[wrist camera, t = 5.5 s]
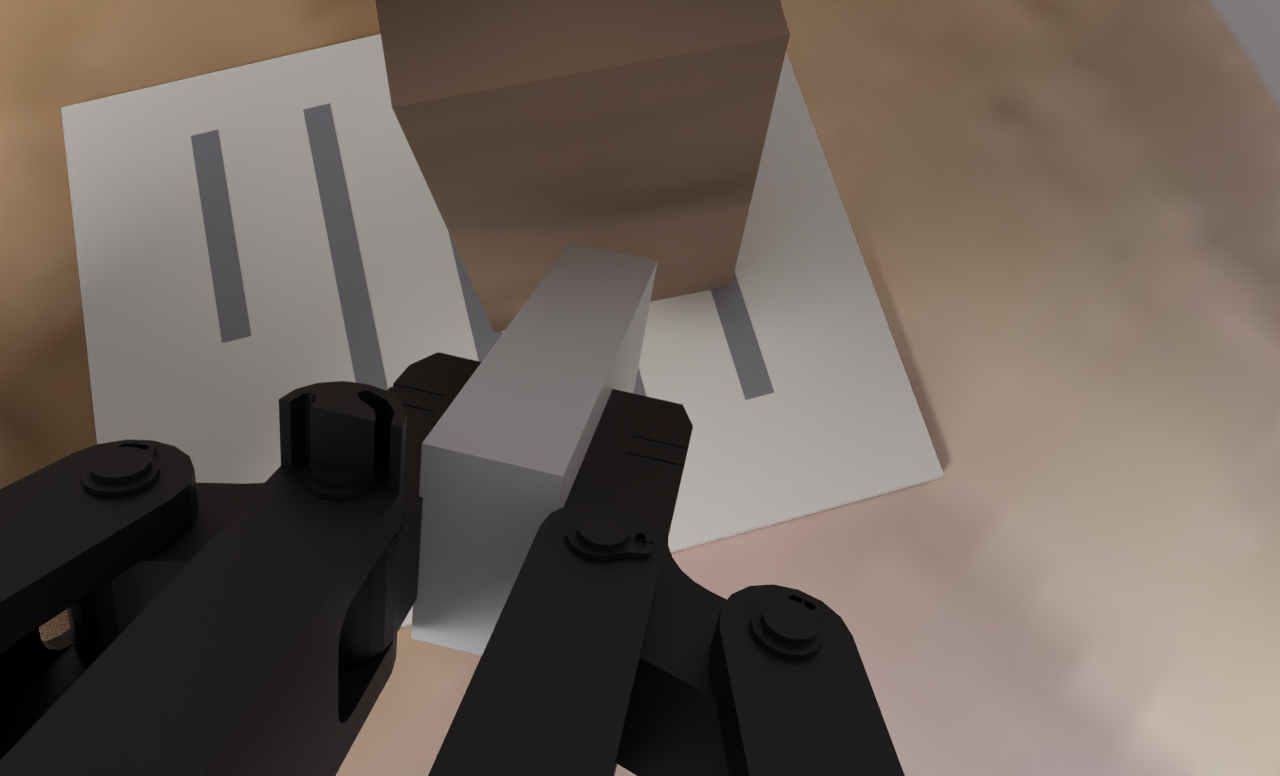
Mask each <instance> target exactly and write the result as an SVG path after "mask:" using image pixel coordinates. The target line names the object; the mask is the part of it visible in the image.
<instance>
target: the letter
mask: <svg viewBox="0 0 1280 776" xmlns="http://www.w3.org/2000/svg"><path fill="white" fill-rule="evenodd" d="M61 111H62V120H63V129H64V139H65V148H66V157H67V167H68V176H69V186H70V195H71V204H72V214H73V223H74V232H75V242H76V251H77V260H78V270H79V279H80V289H81V298H82V307H83V317H84V326H85V335H86V345H87V354H88V363H89V373H90V382H91V392H92V401H93V410H94V420H95V429H96V438H97V444H102V443H108V442H115V441H120V440H153V441H157V442H161V443H165V444H168V445H172V446H175V447H177V448H178V449H180V450H181V451H183V452H184V453H185V454H187V455H188V456H190V459H191V461H192V464H193V467H194V469H195V479H196V483H237V484H249V483H265V482H266V481H267V480H268V479H269V478H270V477H271V476H272V474H273V473H274V472H275V471H276V470H277V469H278V468H279V467H280V466H281V453H280V423H279V399H280V398H281V397H283V396H285V395H286V394H288V393H290V392H291V391H293V390H295V389H297V388H301V387H304V386H308V385H312V384H315V383H322V382H337V381H347V382H355V383H363V384H369V385H372V386H375V387H377V388H380V389H383V390H386V391H387V390H388V389H389V388H390V387H393V383H394V382H395V381H396V380H397V378H398V377H399V376H400V375H401V374H402V373H403V372H404V371H405V369H406V368H407V367H408V366H409V365H410V364H413V363H415V362H417V361H419V360H422V359H424V358H426V357H428V356H430V355H433V354H435V353H437V352H439V353H444V354H448V355H453V356H457V357H462V358H466V359H471V360H475V361H479V362H482V361H483V360H484V358H485V357H486V355H487V354H488V353H489V351H490V350H491V349H492V347H493V346H494V344H495V343H496V342H497V340H498V339H499V338H500V336H501V335H502V334H503V332H504V331H500V332H494V330H493V328H492V326H491V324H490V321H489V319H488V317H487V315H486V313H485V310H484V308H483V306H482V304H481V302H480V300H479V297H478V295H477V293H476V291H475V289H474V286H473V284H472V282H471V280H470V278H469V275H468V273H467V271H466V269H465V267H464V264H463V262H462V260H461V258H460V256H459V253H458V251H457V249H456V247H455V245H454V242H453V240H452V238H451V236H450V234H449V231H448V229H447V227H446V225H445V223H444V220H443V218H442V216H441V214H440V212H439V209H438V207H437V205H436V203H435V201H434V198H433V196H432V194H431V192H430V190H429V187H428V185H427V183H426V181H425V179H424V176H423V174H422V172H421V170H420V168H419V166H418V163H417V161H416V159H415V157H414V155H413V152H412V150H411V148H410V146H409V144H408V141H407V139H406V137H405V135H404V133H403V130H402V128H401V126H400V124H399V122H398V119H397V117H396V115H395V113H394V111H393V108H392V104H391V98H390V91H389V85H388V78H387V72H386V65H385V58H384V52H383V45H382V39H381V34H378V35H374V36H369V37H365V38H361V39H356V40H352V41H348V42H343V43H339V44H335V45H330V46H326V47H322V48H317V49H313V50H308V51H304V52H300V53H295V54H291V55H287V56H282V57H278V58H274V59H269V60H265V61H261V62H256V63H252V64H248V65H243V66H239V67H235V68H230V69H226V70H222V71H217V72H213V73H209V74H204V75H200V76H196V77H191V78H187V79H183V80H178V81H174V82H170V83H165V84H161V85H157V86H152V87H148V88H144V89H139V90H135V91H131V92H126V93H122V94H118V95H113V96H109V97H104V98H100V99H96V100H91V101H87V102H83V103H78V104H74V105H70V106H65V107H61ZM634 394H638V395H643V396H647V397H651V398H656V399H660V400H665V401H669V402H674V403H678V404H683V406H684V408H685V410H686V413H687V415H688V417H689V419H690V421H691V423H692V425H693V429H692V434H691V438H690V443H689V447H688V452H687V456H686V461H685V465H684V470H683V474H682V479H681V483H680V488H679V492H678V496H677V501H676V505H675V510H674V514H673V519H672V523H671V528H670V532H669V536H668V546H669V549H670V552H671V553H672V552H676V551H679V550H683V549H687V548H690V547H694V546H697V545H701V544H705V543H708V542H712V541H715V540H719V539H723V538H726V537H730V536H734V535H737V534H741V533H744V532H748V531H752V530H755V529H759V528H762V527H766V526H770V525H773V524H777V523H781V522H784V521H788V520H791V519H795V518H799V517H802V516H806V515H809V514H813V513H817V512H820V511H824V510H828V509H831V508H835V507H838V506H842V505H846V504H849V503H853V502H856V501H860V500H864V499H867V498H871V497H875V496H878V495H882V494H885V493H889V492H893V491H896V490H900V489H903V488H907V487H911V486H914V485H918V484H922V483H925V482H929V481H932V480H936V479H940V478H941V477H943V476H944V474H943V471H942V468H941V466H940V463H939V460H938V458H937V455H936V452H935V449H934V447H933V444H932V441H931V439H930V436H929V433H928V431H927V428H926V425H925V423H924V420H923V417H922V415H921V412H920V409H919V406H918V404H917V401H916V398H915V396H914V393H913V390H912V388H911V385H910V382H909V380H908V377H907V374H906V372H905V369H904V366H903V363H902V361H901V358H900V355H899V353H898V350H897V347H896V345H895V342H894V339H893V337H892V334H891V331H890V329H889V326H888V323H887V320H886V318H885V315H884V312H883V310H882V307H881V304H880V302H879V299H878V296H877V294H876V291H875V288H874V286H873V283H872V280H871V278H870V275H869V272H868V269H867V267H866V264H865V261H864V259H863V256H862V253H861V251H860V248H859V245H858V243H857V240H856V237H855V235H854V232H853V229H852V226H851V224H850V221H849V218H848V216H847V213H846V210H845V208H844V205H843V202H842V200H841V197H840V194H839V192H838V189H837V186H836V183H835V181H834V178H833V175H832V173H831V170H830V167H829V165H828V162H827V159H826V157H825V154H824V151H823V149H822V146H821V143H820V140H819V138H818V135H817V132H816V130H815V127H814V124H813V122H812V119H811V116H810V114H809V111H808V108H807V106H806V103H805V100H804V97H803V95H802V92H801V89H800V87H799V84H798V81H797V79H796V76H795V73H794V71H793V68H792V65H791V63H790V60H789V57H788V55H787V52H786V53H785V57H784V61H783V66H782V70H781V74H780V79H779V83H778V87H777V91H776V96H775V100H774V104H773V109H772V113H771V117H770V121H769V126H768V130H767V134H766V139H765V143H764V147H763V152H762V156H761V160H760V164H759V169H758V173H757V177H756V182H755V186H754V190H753V194H752V199H751V203H750V207H749V212H748V216H747V220H746V225H745V229H744V233H743V237H742V242H741V246H740V250H739V255H738V259H737V263H736V267H735V272H734V276H733V280H732V285H731V286H727V287H722V288H717V289H712V290H707V291H702V292H697V293H692V294H687V295H682V296H677V297H672V298H667V299H662V300H657V301H651V302H650V306H649V311H648V317H647V322H646V328H645V333H644V339H643V344H642V350H641V355H640V361H639V366H638V372H637V377H636V383H635V388H634ZM412 614H413V606H412V608H411V610H410V611H409V613H408V615H407V617H406V618H405V620H404V622H403V623H402V625H401V627H405V626H408V625H412ZM401 627H400V628H401Z"/></svg>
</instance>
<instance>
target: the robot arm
mask: <svg viewBox="0 0 1280 776" xmlns="http://www.w3.org/2000/svg"><path fill="white" fill-rule="evenodd" d="M657 262H658V261H655V260H651V259H646V258H641V257H637V256H632V255H627V254H623V253H618V252H613V251H609V250H604V249H599V248H595V247H590V246H585V245H581V244H576V243H571V242H569V244H568V245H567V246H566V248H565V249H564V250H563V252H562V253H561V254H560V256H559V257H558V259H557V260H556V261H555V263H554V264H553V265H552V267H551V268H550V269H549V271H548V272H547V274H546V275H545V276H544V278H543V279H542V280H541V282H540V283H539V284H538V286H537V287H536V289H535V290H534V291H533V293H532V294H531V295H530V297H529V298H528V299H527V301H526V302H525V304H524V305H523V306H522V308H521V309H520V310H519V312H518V313H517V314H516V316H515V317H514V319H513V320H512V321H511V323H510V324H509V325H508V327H507V328H506V329H505V331H504V332H503V334H502V335H501V336H500V338H499V339H498V340H497V342H496V343H495V344H494V346H493V347H492V349H491V350H490V351H489V353H488V354H487V355H486V357H485V358H484V360H483V361H482V362H479V361H475V360H471V359H466V358H462V357H457V356H453V355H448V354H444V353H439V352H437V353H435V354H433V355H430V356H428V357H426V358H424V359H422V360H419V361H417V362H415V363H413V364H410V365H409V366H408V367H407V368H406V369H405V371H404V372H403V373H402V374H401V375H400V376H399V377H398V378H397V380H396V381H395V382H394V383H393V387H390V388H389V389H388V390H387V391H386V390H383V389H380V388H377V387H375V386H372V385H369V384H363V383H355V382H347V381H337V382H322V383H315V384H312V385H308V386H304V387H301V388H297V389H295V390H293V391H291V392H290V393H288V394H286V395H285V396H283V397H281V398H280V399H279V423H280V453H281V466H280V467H279V468H278V469H277V470H276V471H275V472H274V473H273V474H272V476H271V477H270V478H269V479H268V480H267V481H266V482H265V483H249V484H237V483H196V479H195V469H194V467H193V464H192V461H191V459H190V456H188V455H187V454H185V453H184V452H183V451H181V450H180V449H178V448H177V447H175V446H172V445H168V444H165V443H161V442H157V441H153V440H120V441H115V442H108V443H102V444H97V445H95V446H92V447H89V448H86V449H84V450H81V451H78V452H75V453H73V454H71V455H69V456H67V457H65V458H63V459H61V460H59V461H57V462H55V463H53V464H51V465H49V466H47V467H45V468H43V469H41V470H39V471H37V472H35V473H33V474H31V475H29V476H27V477H25V478H23V479H21V480H19V481H17V482H15V483H13V484H11V485H9V486H7V487H5V488H3V489H1V490H0V776H335V775H336V773H337V772H338V770H339V768H340V766H341V764H342V762H343V761H344V759H345V757H346V755H347V753H348V751H349V750H350V748H351V746H352V744H353V742H354V741H355V739H356V737H357V735H358V733H359V731H360V730H361V728H362V726H363V724H364V722H365V720H366V719H367V717H368V715H369V713H370V711H371V709H372V708H373V706H374V704H375V702H376V700H377V699H378V697H379V695H380V693H381V691H382V689H383V688H384V686H385V684H386V682H387V680H388V678H389V677H390V675H391V673H392V670H393V666H394V662H395V659H396V648H397V632H398V630H399V629H400V627H401V625H402V623H403V622H404V620H405V618H406V617H407V615H408V613H409V611H410V610H411V608H412V606H413V614H412V632H411V638H412V639H416V640H420V641H424V642H428V643H432V644H436V645H440V646H444V647H448V648H452V649H456V650H461V651H465V652H469V653H473V654H477V655H481V656H482V657H481V659H480V661H479V663H478V666H477V668H476V670H475V672H474V675H473V677H472V679H471V681H470V684H469V686H468V688H467V690H466V692H465V695H464V697H463V699H462V701H461V704H460V706H459V708H458V710H457V713H456V715H455V717H454V719H453V722H452V724H451V726H450V728H449V731H448V733H447V735H446V737H445V739H444V742H443V744H442V746H441V748H440V751H439V753H438V755H437V757H436V760H435V762H434V764H433V766H432V769H431V771H430V773H429V775H428V776H614V775H615V771H616V766H617V764H619V765H620V766H622V767H624V768H625V769H627V770H629V771H630V772H632V773H634V774H635V775H637V776H905V775H904V773H903V770H902V767H901V765H900V762H899V759H898V757H897V754H896V751H895V749H894V746H893V743H892V741H891V738H890V735H889V733H888V730H887V727H886V724H885V722H884V719H883V716H882V714H881V711H880V708H879V706H878V703H877V700H876V698H875V695H874V692H873V690H872V687H871V684H870V682H869V679H868V676H867V673H866V671H865V668H864V665H863V663H862V660H861V657H860V655H859V652H858V649H857V647H856V644H855V641H854V639H853V636H852V634H851V633H850V631H849V630H848V628H847V626H846V625H845V623H844V622H843V620H842V618H841V617H840V616H839V615H838V614H836V613H835V612H834V611H833V610H832V609H830V608H829V607H828V606H827V605H826V604H825V603H823V602H822V601H820V600H818V599H816V598H814V597H812V596H810V595H808V594H806V593H804V592H802V591H800V590H797V589H792V588H787V587H782V586H778V585H759V586H749V587H747V588H745V589H742V590H740V591H738V592H736V593H733V594H731V596H730V597H729V598H728V600H726V599H724V598H722V597H720V596H718V595H716V594H714V593H712V592H710V591H709V590H707V589H705V588H704V587H702V586H700V585H699V584H697V583H695V582H694V581H693V580H692V579H690V578H689V577H688V576H687V575H686V574H685V573H684V572H683V571H682V570H681V569H680V568H679V566H678V565H677V564H676V562H675V561H674V559H673V558H672V555H671V552H670V549H669V546H668V536H669V532H670V528H671V523H672V519H673V514H674V510H675V505H676V501H677V496H678V492H679V488H680V483H681V479H682V474H683V470H684V465H685V461H686V456H687V452H688V447H689V443H690V438H691V434H692V429H693V425H692V423H691V421H690V419H689V417H688V415H687V413H686V410H685V408H684V406H683V404H678V403H674V402H669V401H665V400H660V399H656V398H651V397H647V396H643V395H638V394H634V388H635V383H636V377H637V372H638V366H639V361H640V355H641V350H642V344H643V339H644V333H645V328H646V322H647V317H648V311H649V306H650V300H651V295H652V289H653V284H654V278H655V273H656V267H657ZM66 609H67V612H68V617H69V623H70V628H71V629H69V630H68V631H66V632H65V633H63V634H62V635H60V636H58V637H55V638H53V639H51V640H49V641H46V642H42V640H41V638H40V633H39V628H38V627H40V626H42V625H43V624H45V623H46V622H48V621H49V620H51V619H52V618H54V617H55V616H57V615H58V614H60V613H62V612H63V611H65V610H66Z"/></svg>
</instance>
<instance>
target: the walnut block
mask: <svg viewBox="0 0 1280 776" xmlns="http://www.w3.org/2000/svg"><path fill="white" fill-rule="evenodd" d="M376 6H377V13H378V19H379V26H380V32H381V39H382V45H383V52H384V58H385V65H386V72H387V78H388V85H389V91H390V98H391V104H392V108H393V111H394V113H395V115H396V117H397V119H398V122H399V124H400V126H401V128H402V130H403V133H404V135H405V137H406V139H407V141H408V144H409V146H410V148H411V150H412V152H413V155H414V157H415V159H416V161H417V163H418V166H419V168H420V170H421V172H422V174H423V176H424V179H425V181H426V183H427V185H428V187H429V190H430V192H431V194H432V196H433V198H434V201H435V203H436V205H437V207H438V209H439V212H440V214H441V216H442V218H443V220H444V223H445V225H446V227H447V229H448V231H449V234H450V236H451V238H452V240H453V242H454V245H455V247H456V249H457V251H458V253H459V256H460V258H461V260H462V262H463V264H464V267H465V269H466V271H467V273H468V275H469V278H470V280H471V282H472V284H473V286H474V289H475V291H476V293H477V295H478V297H479V300H480V302H481V304H482V306H483V308H484V310H485V313H486V315H487V317H488V319H489V321H490V324H491V326H492V328H493V330H494V332H500V331H505V329H506V328H507V327H508V325H509V324H510V323H511V321H512V320H513V319H514V317H515V316H516V314H517V313H518V312H519V310H520V309H521V308H522V306H523V305H524V304H525V302H526V301H527V299H528V298H529V297H530V295H531V294H532V293H533V291H534V290H535V289H536V287H537V286H538V284H539V283H540V282H541V280H542V279H543V278H544V276H545V275H546V274H547V272H548V271H549V269H550V268H551V267H552V265H553V264H554V263H555V261H556V260H557V259H558V257H559V256H560V254H561V253H562V252H563V250H564V249H565V248H566V246H567V245H568V244H569V242H571V243H576V244H581V245H585V246H590V247H595V248H599V249H604V250H609V251H613V252H618V253H623V254H627V255H632V256H637V257H641V258H646V259H651V260H655V261H658V262H657V267H656V273H655V278H654V284H653V289H652V295H651V300H650V302H651V301H657V300H662V299H667V298H672V297H677V296H682V295H687V294H692V293H697V292H702V291H707V290H712V289H717V288H722V287H727V286H731V285H732V280H733V276H734V272H735V267H736V263H737V259H738V255H739V250H740V246H741V242H742V237H743V233H744V229H745V225H746V220H747V216H748V212H749V207H750V203H751V199H752V194H753V190H754V186H755V182H756V177H757V173H758V169H759V164H760V160H761V156H762V152H763V147H764V143H765V139H766V134H767V130H768V126H769V121H770V117H771V113H772V109H773V104H774V100H775V96H776V91H777V87H778V83H779V79H780V74H781V70H782V66H783V61H784V57H785V53H786V48H787V44H788V40H789V36H790V34H789V30H788V27H787V24H786V20H785V17H784V14H783V10H782V7H781V4H780V1H779V0H376Z"/></svg>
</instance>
